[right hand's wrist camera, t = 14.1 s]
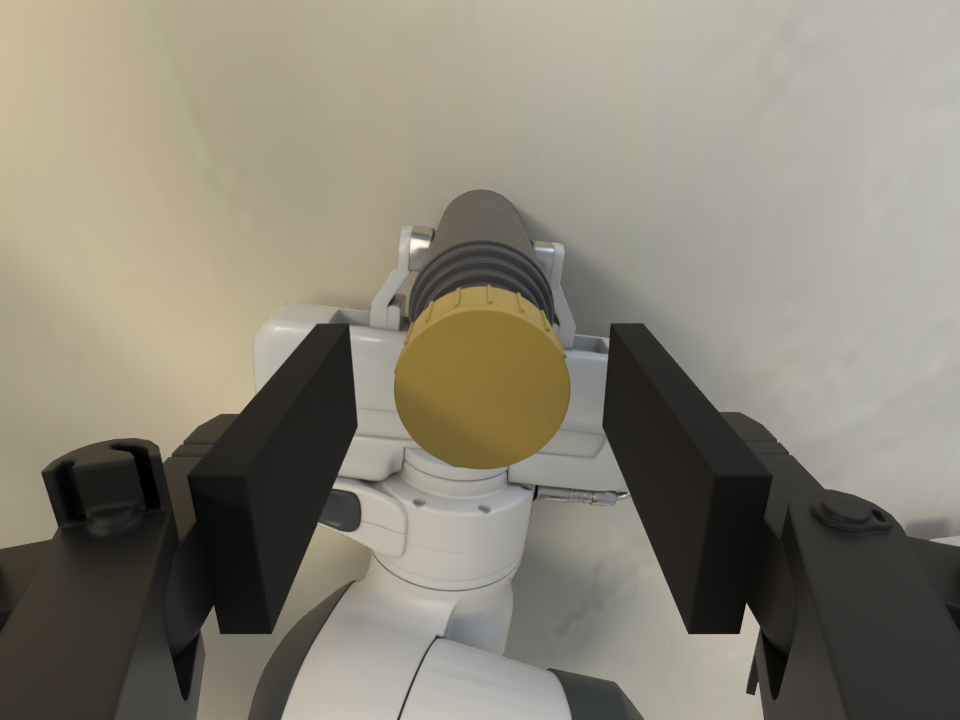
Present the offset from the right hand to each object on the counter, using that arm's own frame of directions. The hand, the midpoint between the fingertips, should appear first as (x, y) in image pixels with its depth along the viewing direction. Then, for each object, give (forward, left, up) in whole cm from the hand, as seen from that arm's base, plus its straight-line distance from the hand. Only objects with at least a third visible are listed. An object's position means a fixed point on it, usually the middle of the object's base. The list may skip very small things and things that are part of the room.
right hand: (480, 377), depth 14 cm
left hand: (-1, +1, -14) cm, 14 cm away
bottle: (0, 0, -21) cm, 21 cm away
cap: (0, 0, +1) cm, 1 cm away
